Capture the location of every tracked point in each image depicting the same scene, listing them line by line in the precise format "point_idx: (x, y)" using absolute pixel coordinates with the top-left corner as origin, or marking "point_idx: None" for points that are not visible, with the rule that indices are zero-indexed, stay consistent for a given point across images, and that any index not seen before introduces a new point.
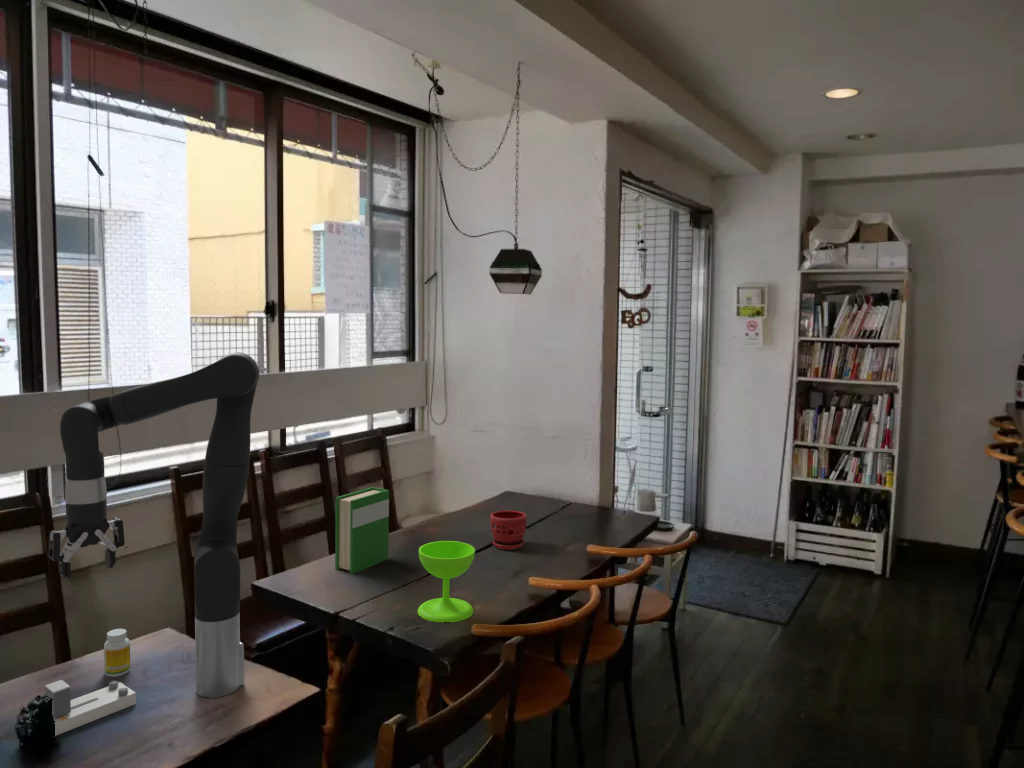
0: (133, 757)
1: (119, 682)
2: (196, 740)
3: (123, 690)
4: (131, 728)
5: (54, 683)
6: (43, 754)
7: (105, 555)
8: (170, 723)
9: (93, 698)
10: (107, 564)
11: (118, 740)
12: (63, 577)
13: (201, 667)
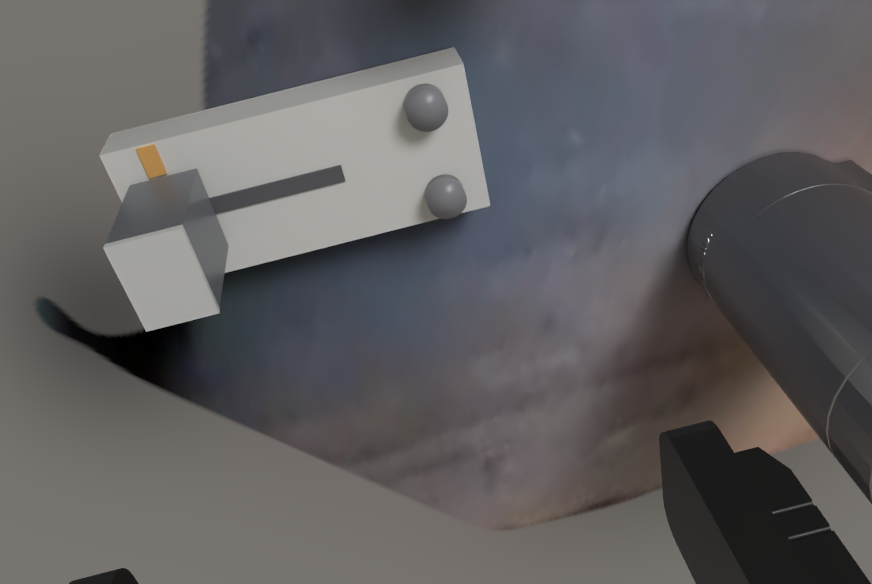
0: (386, 479)
1: (459, 66)
2: (555, 478)
3: (447, 208)
4: (419, 339)
5: (147, 253)
6: (137, 353)
7: (739, 579)
8: (532, 368)
9: (328, 160)
10: (681, 506)
11: (367, 385)
12: (80, 581)
13: (743, 335)
